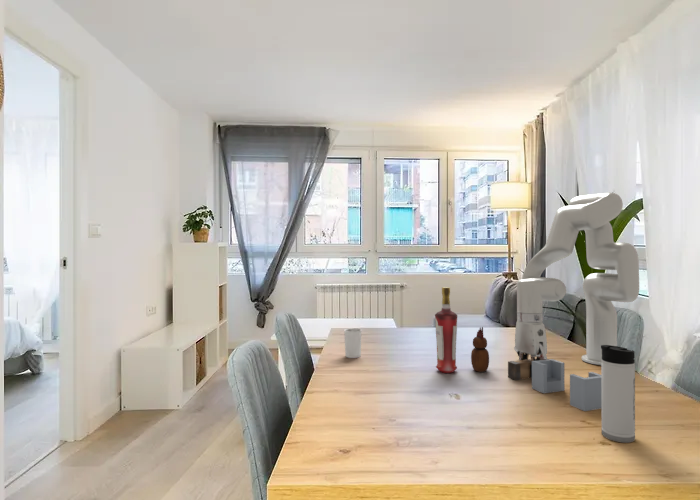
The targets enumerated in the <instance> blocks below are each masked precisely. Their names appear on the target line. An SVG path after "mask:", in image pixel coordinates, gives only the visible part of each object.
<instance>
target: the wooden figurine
mask: <svg viewBox="0 0 700 500" xmlns="http://www.w3.org/2000/svg"><path fill="white" fill-rule="evenodd" d="M483 327H484V326H482V327H481V326H480V327H479V329H478V331H476V336H474V337H473V338H472V346H473V348H472V349H471V352H470V359H471V362H470V363H471V366H472V369H473V370H474V371H475V372H478V373H479V372H480V373H483V372H486V371H488V369H489V365H490V354H489V351H488V349H487V346H488V341H487V338H486V337H484V328H483Z"/></svg>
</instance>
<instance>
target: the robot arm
mask: <svg viewBox="0 0 700 500" xmlns="http://www.w3.org/2000/svg"><path fill="white" fill-rule="evenodd" d="M623 204H624V203H623V200H622V198H621V196H620V195H619V194H617V193H615V192H603V193H591V194H584V195H583V194H582V195H577V196H575V197H573V198H572V199H570V201H569V203H568V205H565V206H562V207H560V208H559V209H557V211H556V212H555V213H554V218H553V221H552V224H551V227H550V230H549V233H548V235H547V239H546V242H545V245H544V246H543V247H542V248H541V249H540V250H539V251H538V252H537V253H536V254H534V256H533V257H532V258H531V259H530V260H529V261H528V262H527V264H526V266H525V268H524V270H523V274H522V277H521V278H520V279H519V280H518V281H517V282H516V323H515V332H514V333H515V334H514V347H513V349H514V351H515V352H516V353H517V356H518V360H527V359H529V358H530V359H531V363H532V361H538V360H545V359H548V356H547V354H548V341H547V332H546V327H545V324H544V323H543V320H544V319H543V318H544V317H543V302H558V301H561V300H562V299H563V298H564V297H565V295H566V293H567V287H566V284H565V283H564V281H563V280H560V279H558V278H556V277H555V278H553V277H545V276H544V277H543V276H542V274H543V272H544V271H545V269H547V268H548V267H549V266H551V265H553V264H554V263H557V262H558V261H561V260H563V259H565V258H567V257H569V256H571V255H572V254H573V252H574V248H575V245H576V241H577V238H578V236H579V235H578V234H579V232H580V231H584V233H585V248H586V249H585V251H586V255H585V256H586V262H587V265H588V266H589V267H590V268H591V269H595V270H605V271H606V270H607V271H608V270H609V271H610V270H611V271H616V273H609V272H608V273H607V272H594V273H590V274H588V275H587V276H586V277H585V278H584V279H583V281H582V290H583V294H584V295H583V296H584V298H585V299H584V300H585V311H586V312H585V313H586V315H585V316H586V317H585V318H586V321H585V322H586V323H585V324H586V325H585V328H586V331H585V332H586V334H585V335H586V350H585V351H586V354H583V355H581V360H582V361H583V362H584V363H588V364H592V365H596V366H597V365H598V366H601V363H602V361H601V359H602V349H601V345H611V346H618V313H617V310H616V308H615V306H614V303H613V302H617V303H632V302H635V301H636V300H637V299H638V297H639V294H640V265H639V263H640V262H639V260H640V259H639V254H638V251H637V249H636V248H635V245H633V244H630V243H628V242H615V241H614V232H613V226H612V224H611V223H610V222H611V221H612V220H614V219H616V218H617V217H618V216H619V215H620V214H621V212H622V209H623ZM529 356H530V357H529ZM530 377H532V365H530Z"/></svg>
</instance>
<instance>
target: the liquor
mask: <svg viewBox="0 0 700 500" xmlns="http://www.w3.org/2000/svg"><path fill="white" fill-rule="evenodd" d="M441 294H442V295H441V296H442V301H441V309H440V310H439V311H437V312H436V313H435V314H434V320H435V322H434V323H435V338H436V360H437V362H436V363H437V364H436V366H435V368H436V369H437V370H438V371H439V372H440V373H444V374H452V373H454V372H455V371H456V370H457V369H458V366H457V364H456V363H457V361H456V360H457V358H456V356H457V355H456V354H457V337H458V336H457V334H458V333H457V332H458V314H457V313H456V312H454V311H452V310H451V301H450V295H451V287H449V286H448V287H447V286H443V287H441Z"/></svg>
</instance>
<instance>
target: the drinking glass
mask: <svg viewBox="0 0 700 500" xmlns="http://www.w3.org/2000/svg"><path fill="white" fill-rule="evenodd" d="M343 331H344V332H343V333H344V352H345V355H344V356H345V358H349V359H356V358H360V357H361V354H362V352H361V351H362V350H361V349H362V329H361V328H353V327H350V328H345V329H343Z"/></svg>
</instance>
